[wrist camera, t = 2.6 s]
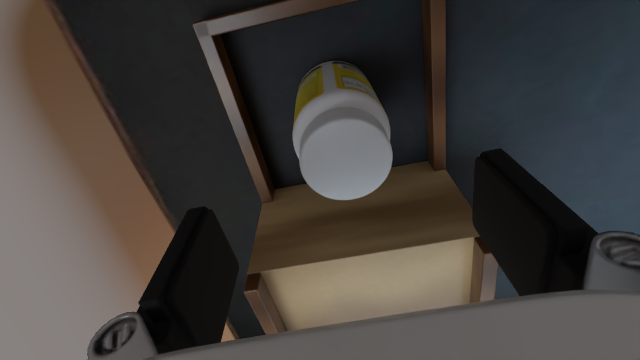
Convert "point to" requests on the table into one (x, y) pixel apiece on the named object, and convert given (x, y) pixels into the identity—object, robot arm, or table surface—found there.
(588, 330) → the robot arm
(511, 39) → the table surface
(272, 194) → the shelf rack
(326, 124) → the supplement bottle
